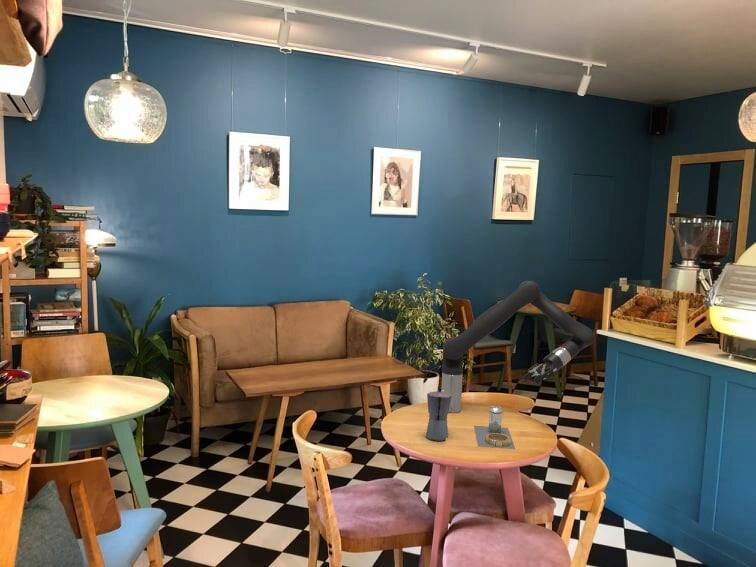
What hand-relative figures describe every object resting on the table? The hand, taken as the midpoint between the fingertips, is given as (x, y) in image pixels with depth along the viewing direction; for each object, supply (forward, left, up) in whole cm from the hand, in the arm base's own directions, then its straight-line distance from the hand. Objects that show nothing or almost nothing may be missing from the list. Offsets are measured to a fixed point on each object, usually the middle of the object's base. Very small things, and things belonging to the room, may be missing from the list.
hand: (529, 380), depth 248 cm
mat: (-16, -19, -20) cm, 31 cm away
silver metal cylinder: (-15, -13, -19) cm, 27 cm away
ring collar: (-15, -25, -19) cm, 34 cm away
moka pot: (-38, -22, -20) cm, 48 cm away
